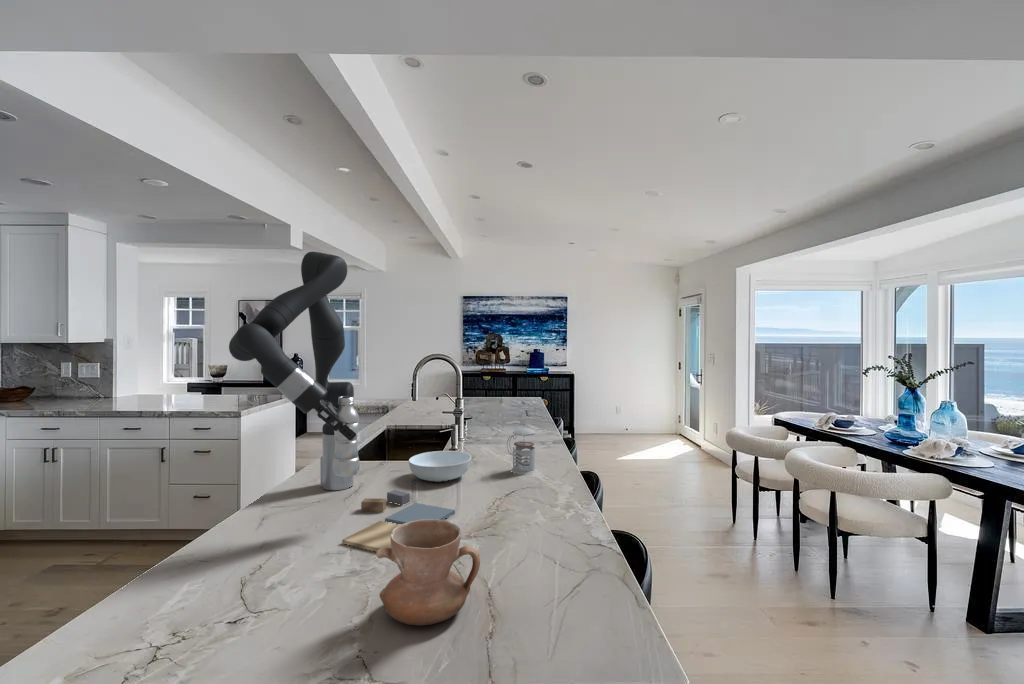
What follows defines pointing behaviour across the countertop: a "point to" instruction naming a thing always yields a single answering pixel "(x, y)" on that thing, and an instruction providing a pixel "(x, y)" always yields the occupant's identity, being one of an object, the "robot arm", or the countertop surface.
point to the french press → (523, 452)
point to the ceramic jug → (426, 572)
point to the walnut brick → (373, 505)
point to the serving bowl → (440, 465)
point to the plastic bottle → (346, 440)
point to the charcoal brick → (398, 497)
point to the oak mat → (372, 536)
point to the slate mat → (419, 513)
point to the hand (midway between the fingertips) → (353, 434)
